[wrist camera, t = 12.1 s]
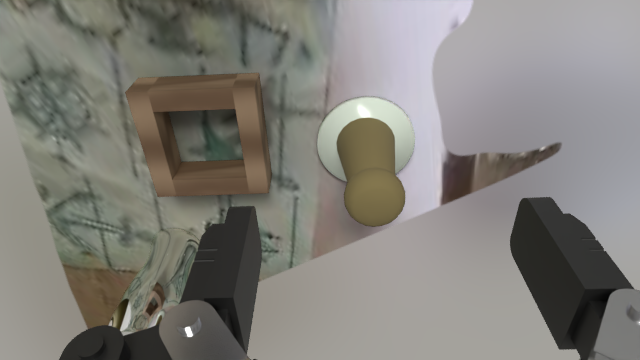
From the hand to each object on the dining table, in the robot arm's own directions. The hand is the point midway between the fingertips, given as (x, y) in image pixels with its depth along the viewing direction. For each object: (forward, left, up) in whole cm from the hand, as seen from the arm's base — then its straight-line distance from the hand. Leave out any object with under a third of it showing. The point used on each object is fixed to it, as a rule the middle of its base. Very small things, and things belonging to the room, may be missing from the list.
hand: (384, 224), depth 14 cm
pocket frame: (+12, -14, -30) cm, 35 cm away
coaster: (+14, +2, -30) cm, 33 cm away
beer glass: (+28, -21, -30) cm, 46 cm away
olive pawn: (+14, +2, -29) cm, 33 cm away
